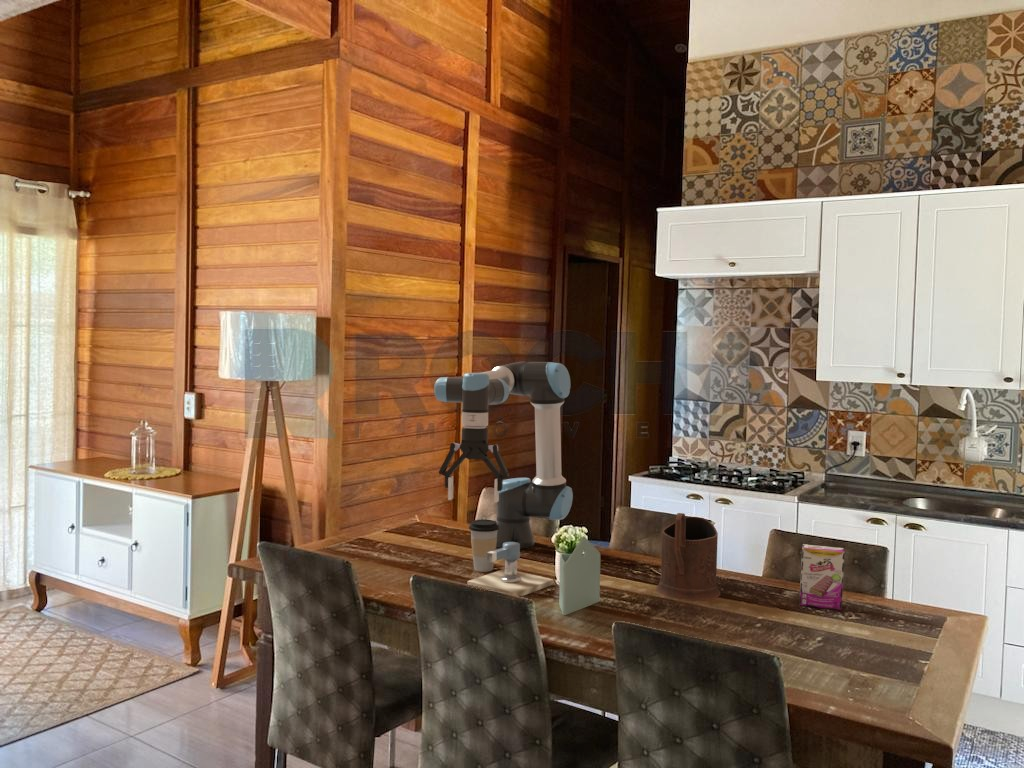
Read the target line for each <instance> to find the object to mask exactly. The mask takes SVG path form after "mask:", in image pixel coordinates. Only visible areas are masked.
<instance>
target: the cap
mask: <svg viewBox="0 0 1024 768" xmlns="http://www.w3.org/2000/svg"><path fill="white" fill-rule="evenodd" d="M520 551H521V549H520V544H519V543H517V542H505V543H503V548H496V550H494V551H490V552H487V561H489V562H494V563H495V562H496V561H499V560H503V559H504V560H505V559H509V560H514V559H517V560H518V559H520V558H521V557H520V556H521V555H520Z"/></svg>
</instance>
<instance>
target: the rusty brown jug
mask: <svg viewBox="0 0 1024 768" xmlns="http://www.w3.org/2000/svg"><path fill="white" fill-rule="evenodd" d="M674 519H675V521H674V522H673V523H670V524H669V525H668V526H666V527H665V528H663V529H662V531H661V557H660V559H661V561H660V579H659V583H658V584H657V586H656V587H655V590H656V592H657V593H658V594H659V595H663V596H664V597H668V598H671V599H677V600H681V601H682V600H683V601H694V602H695V601H708V600H714V599H717V598H719V597H720V596H721V594H722V593H721V591H720V589H719V588H718V587H719V586H718V582H717V571H718V569H717V566H718V565H717V564H718V563H717V562H718V538H719V537H718V535H719V533H718V531H717V529H716V527H715V526H714V524H713V523H712V522H711V521H710V520H708V519H706V518H704V517H698V516H686V514H685V513H683V512H682V513H681V512H678V513H677V514H676V517H675V518H674Z"/></svg>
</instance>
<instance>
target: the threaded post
mask: <svg viewBox="0 0 1024 768" xmlns="http://www.w3.org/2000/svg"><path fill="white" fill-rule="evenodd" d="M504 569H505V575H503V576H501V577H500V580H501V581H502V582H505V583H518V582H520V581H521V577H520V576H517V571H518V559H514V560H509V559H504Z"/></svg>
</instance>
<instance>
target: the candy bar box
mask: <svg viewBox="0 0 1024 768" xmlns="http://www.w3.org/2000/svg"><path fill="white" fill-rule="evenodd" d="M801 549H802V550H801V565H800V566H801V567H800V580H799V581H800V584H799V585H800V586H799V606H805V607H813V608H820V609H830V610H837V611H842V609H843V607H842V606H843V595H844V594H843V592H844V591H843V590H844V589H843V587H844V574H845V573H844V571H845V570H844V569H845V568H844V567H845V549H844V547H835V546H827V545H826V546H825V545H823V546H822V545H815V544H806V543H805V544H804V543H803V544H802V548H801Z"/></svg>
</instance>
